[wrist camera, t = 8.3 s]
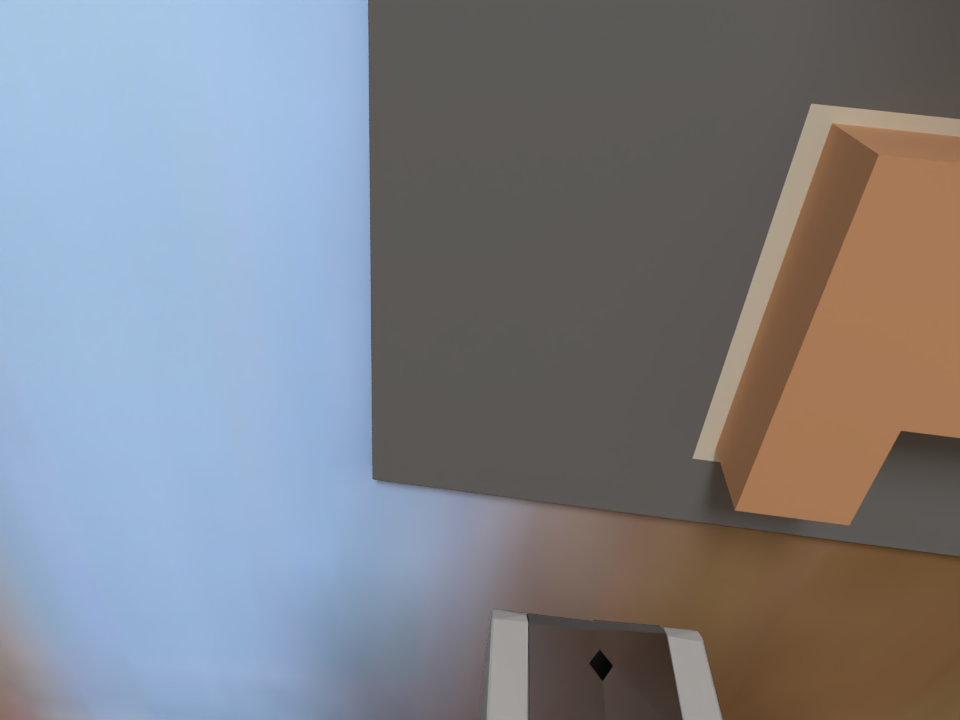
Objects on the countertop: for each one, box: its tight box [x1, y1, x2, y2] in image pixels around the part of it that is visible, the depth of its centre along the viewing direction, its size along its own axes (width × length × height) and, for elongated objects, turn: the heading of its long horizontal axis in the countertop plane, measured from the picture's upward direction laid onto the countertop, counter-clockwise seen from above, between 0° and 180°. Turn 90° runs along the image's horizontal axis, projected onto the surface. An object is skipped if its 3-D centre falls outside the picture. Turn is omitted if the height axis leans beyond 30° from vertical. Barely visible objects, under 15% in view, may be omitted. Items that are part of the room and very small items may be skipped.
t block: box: [716, 123, 960, 525], centre depth 19 cm, size 10×11×3 cm
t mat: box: [368, 0, 960, 556], centre depth 20 cm, size 25×18×1 cm
